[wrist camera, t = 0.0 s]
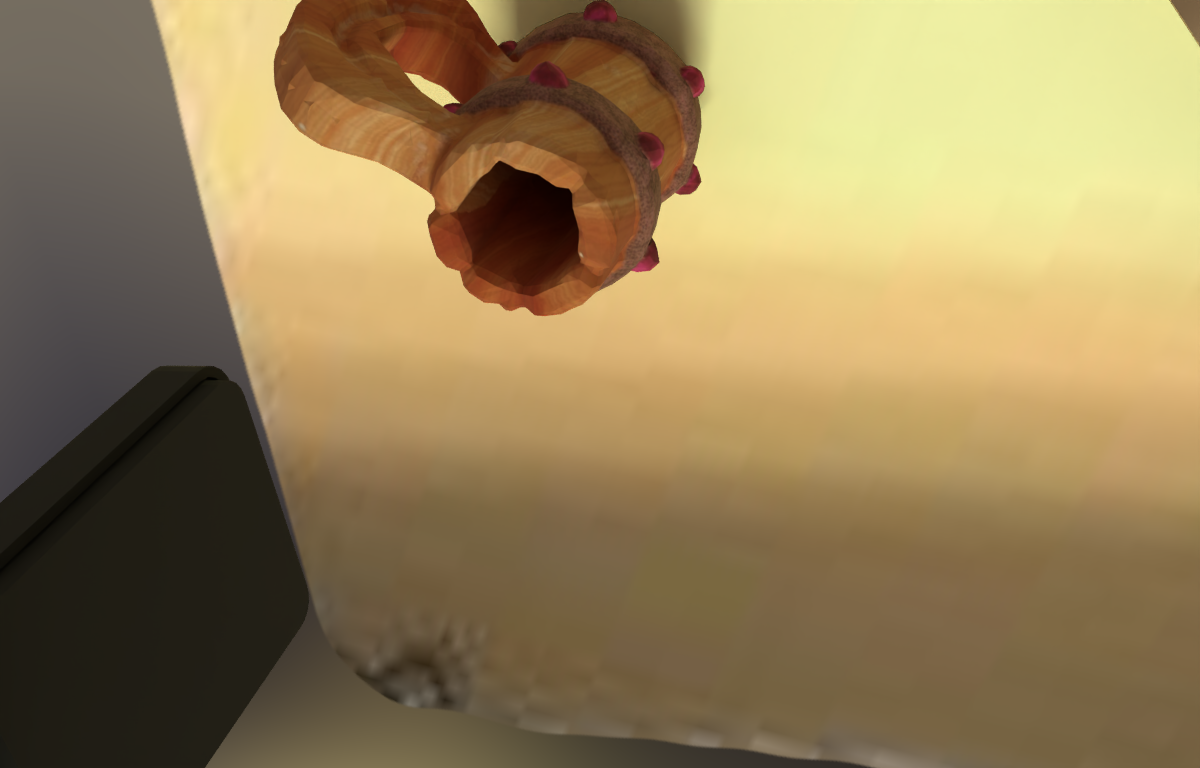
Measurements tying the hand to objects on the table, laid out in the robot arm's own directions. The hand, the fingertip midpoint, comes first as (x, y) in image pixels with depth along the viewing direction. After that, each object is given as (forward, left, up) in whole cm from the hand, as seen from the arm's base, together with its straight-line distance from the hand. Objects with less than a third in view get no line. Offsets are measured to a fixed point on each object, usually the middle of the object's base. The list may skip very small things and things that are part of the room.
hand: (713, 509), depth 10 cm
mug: (-3, -14, -38) cm, 40 cm away
